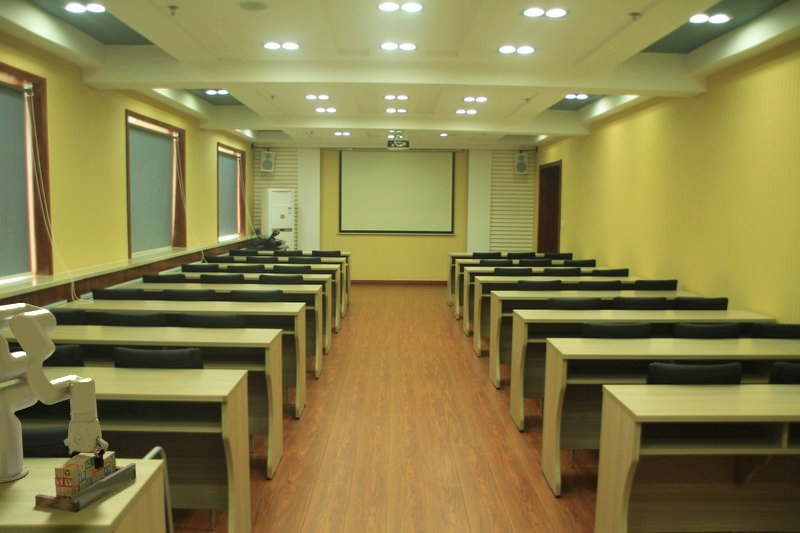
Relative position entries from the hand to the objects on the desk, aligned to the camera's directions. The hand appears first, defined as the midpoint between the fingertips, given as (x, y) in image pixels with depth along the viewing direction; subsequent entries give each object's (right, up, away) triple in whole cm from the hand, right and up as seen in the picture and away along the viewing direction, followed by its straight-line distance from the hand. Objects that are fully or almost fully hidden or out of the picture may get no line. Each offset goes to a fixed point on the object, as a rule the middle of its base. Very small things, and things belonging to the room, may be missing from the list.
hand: (87, 466), depth 202 cm
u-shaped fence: (0, -8, +1) cm, 8 cm away
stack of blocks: (0, -9, +1) cm, 9 cm away
